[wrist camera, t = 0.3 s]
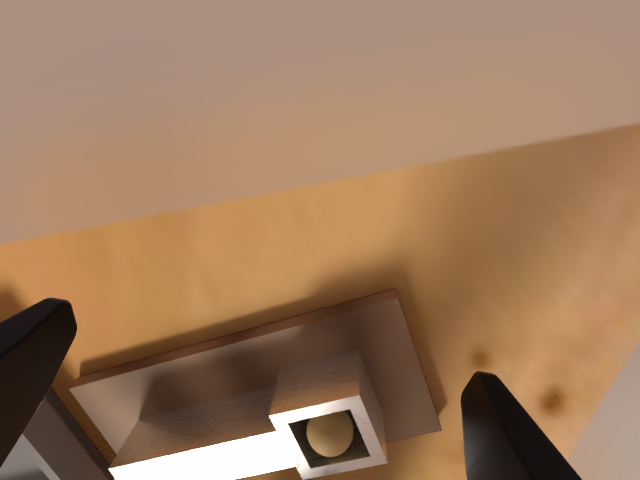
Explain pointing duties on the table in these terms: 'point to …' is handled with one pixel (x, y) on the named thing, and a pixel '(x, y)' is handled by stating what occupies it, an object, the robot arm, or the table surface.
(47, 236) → the table surface
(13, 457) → the tray
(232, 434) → the square nut with handle
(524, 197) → the table surface
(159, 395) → the stud board
